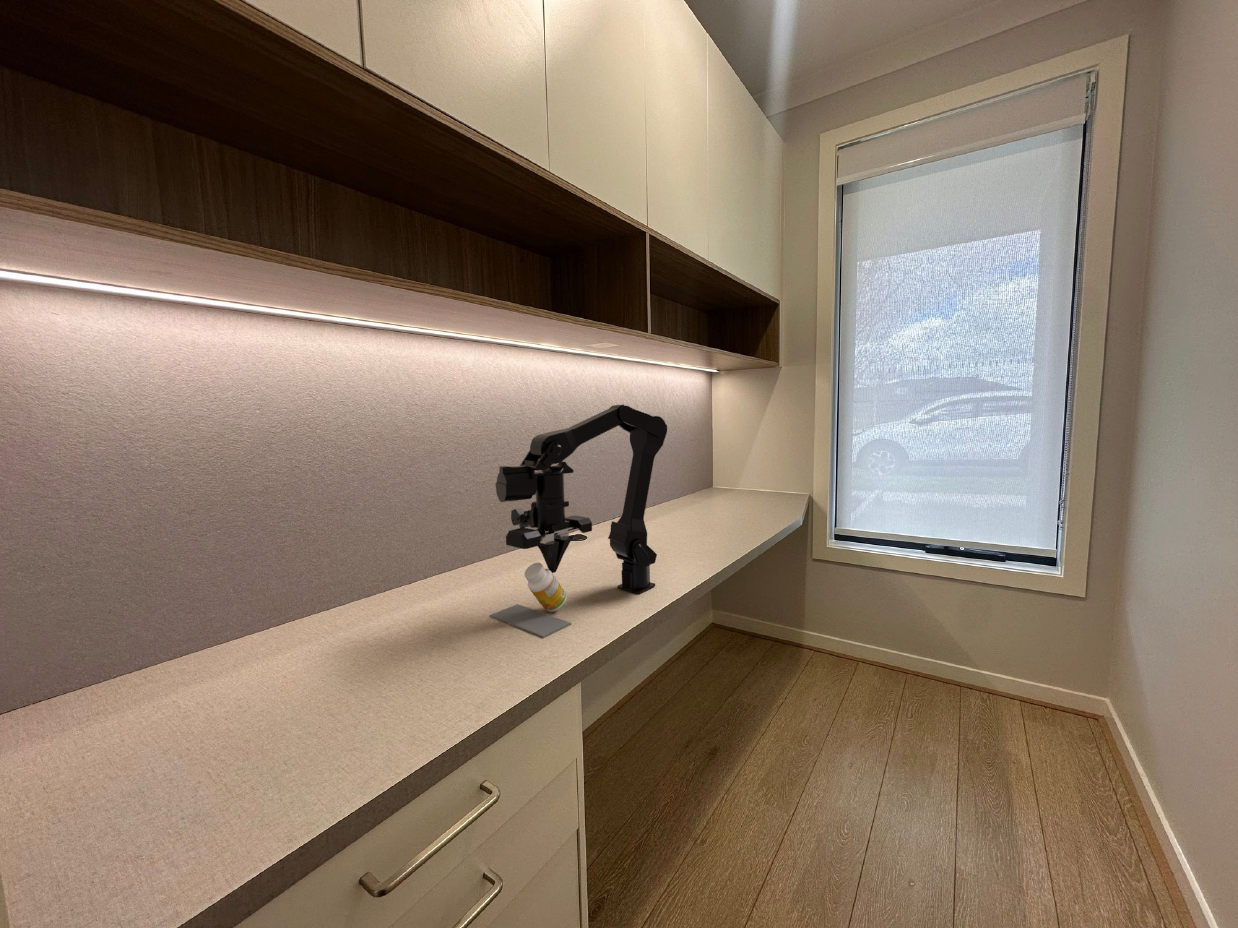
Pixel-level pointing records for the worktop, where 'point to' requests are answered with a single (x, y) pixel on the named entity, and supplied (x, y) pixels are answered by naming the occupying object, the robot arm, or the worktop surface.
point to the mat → (530, 620)
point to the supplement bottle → (545, 587)
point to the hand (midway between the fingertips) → (552, 572)
